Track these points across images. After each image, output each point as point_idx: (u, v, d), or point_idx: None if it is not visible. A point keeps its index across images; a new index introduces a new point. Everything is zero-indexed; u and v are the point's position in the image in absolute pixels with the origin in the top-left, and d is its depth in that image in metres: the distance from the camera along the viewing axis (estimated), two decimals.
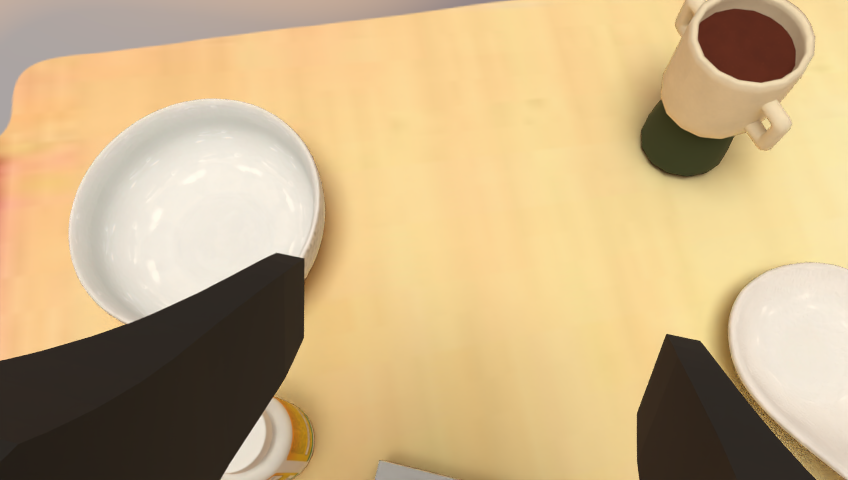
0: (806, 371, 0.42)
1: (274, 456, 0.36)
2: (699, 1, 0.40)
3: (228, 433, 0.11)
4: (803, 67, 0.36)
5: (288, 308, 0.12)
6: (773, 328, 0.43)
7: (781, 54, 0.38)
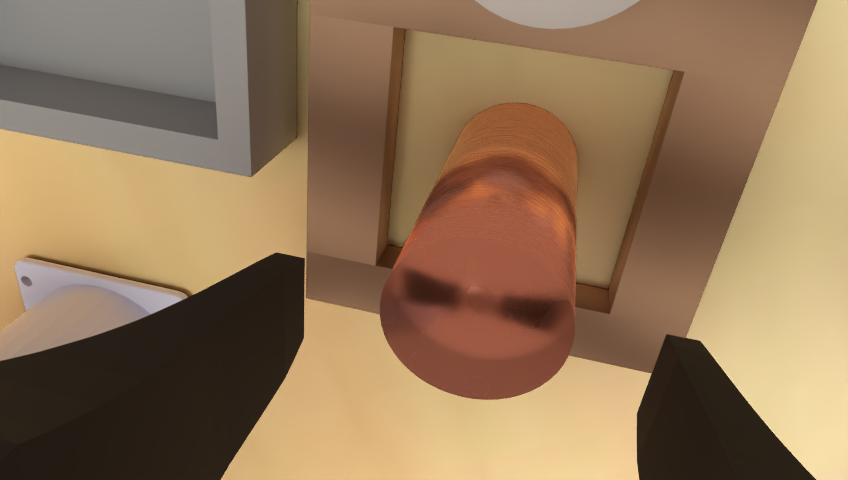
0: None
1: None
2: None
3: (228, 433, 0.11)
4: None
5: (288, 308, 0.12)
6: None
7: None
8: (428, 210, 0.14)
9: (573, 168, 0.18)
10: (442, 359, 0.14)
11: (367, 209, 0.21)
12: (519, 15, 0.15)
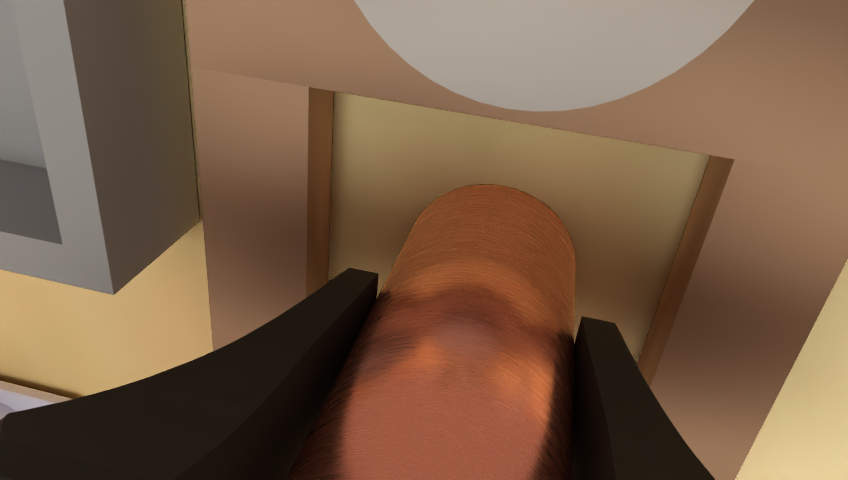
0: None
1: None
2: None
3: None
4: None
5: None
6: None
7: None
8: (331, 409, 0.09)
9: (569, 289, 0.13)
10: None
11: None
12: (481, 89, 0.09)
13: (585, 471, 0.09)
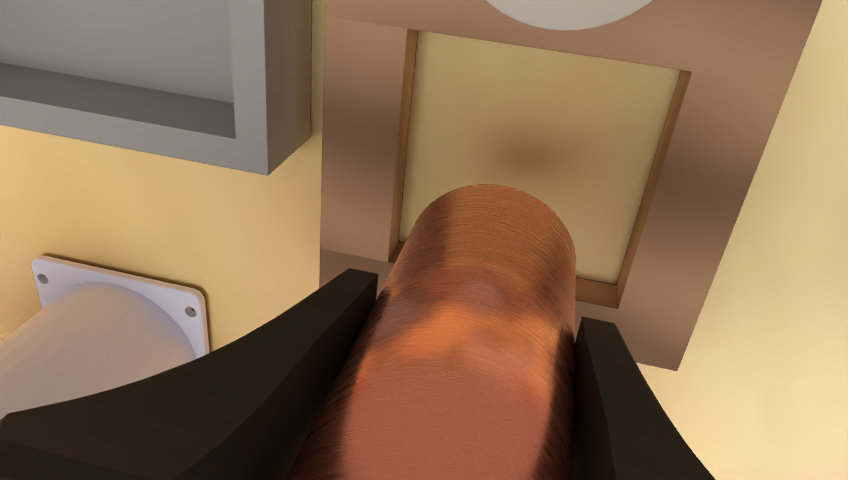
0: None
1: None
2: None
3: None
4: None
5: None
6: None
7: None
8: (332, 409, 0.09)
9: (569, 290, 0.13)
10: None
11: (380, 207, 0.21)
12: (532, 17, 0.15)
13: (585, 471, 0.09)
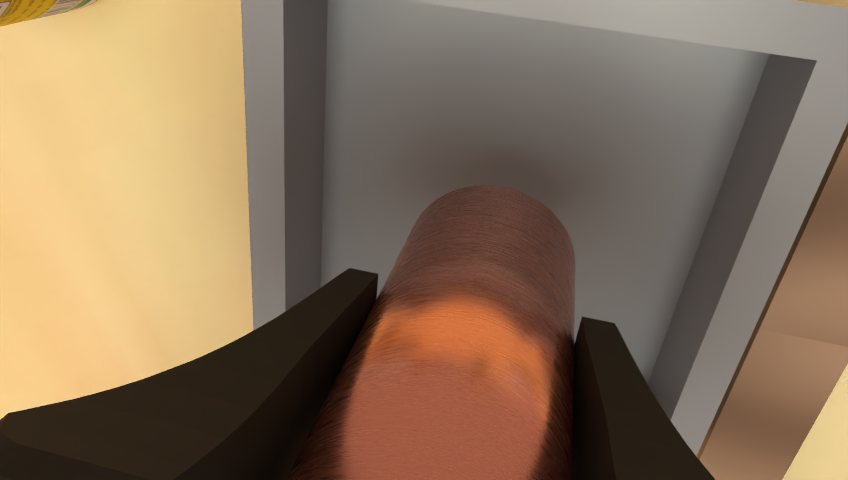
0: None
1: None
2: None
3: None
4: None
5: None
6: None
7: None
8: (327, 412, 0.09)
9: (568, 287, 0.13)
10: None
11: None
12: None
13: (585, 471, 0.09)
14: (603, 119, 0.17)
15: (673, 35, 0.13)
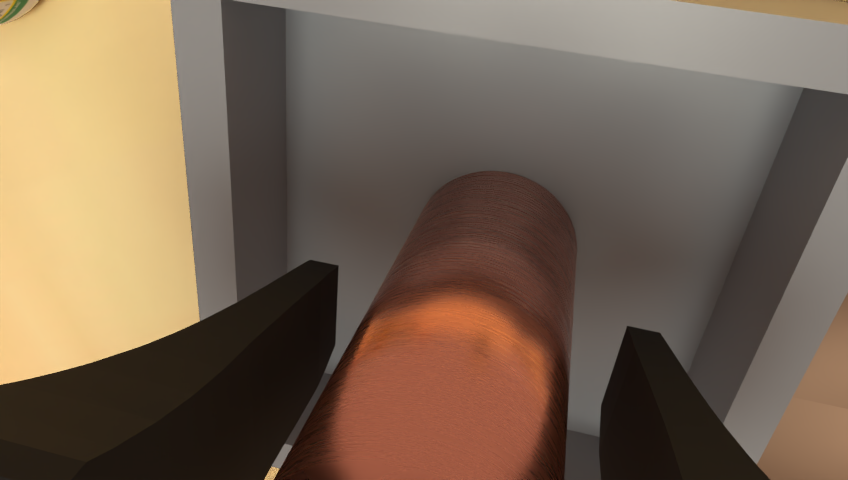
0: None
1: None
2: None
3: (267, 443, 0.11)
4: None
5: (323, 316, 0.12)
6: None
7: None
8: (341, 370, 0.10)
9: (568, 266, 0.13)
10: None
11: None
12: None
13: None
14: (607, 155, 0.14)
15: (695, 66, 0.10)
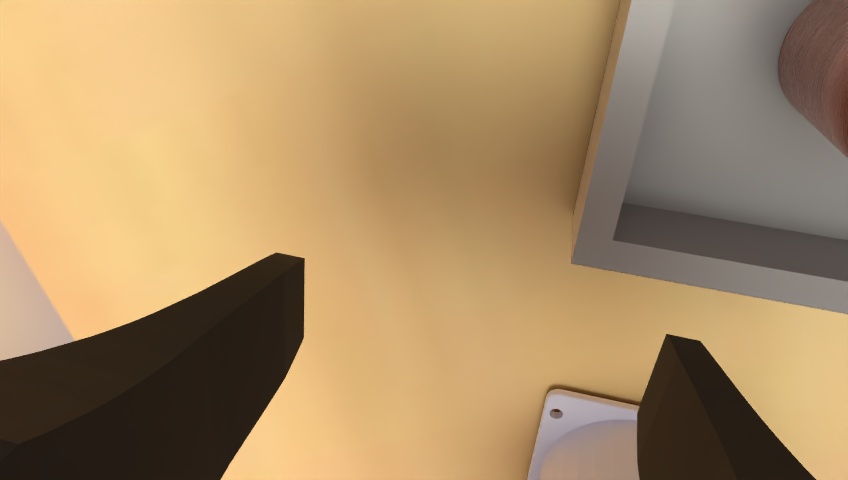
0: None
1: None
2: None
3: (228, 433, 0.11)
4: None
5: (288, 308, 0.12)
6: None
7: None
8: None
9: None
10: None
11: None
12: None
13: None
14: None
15: None
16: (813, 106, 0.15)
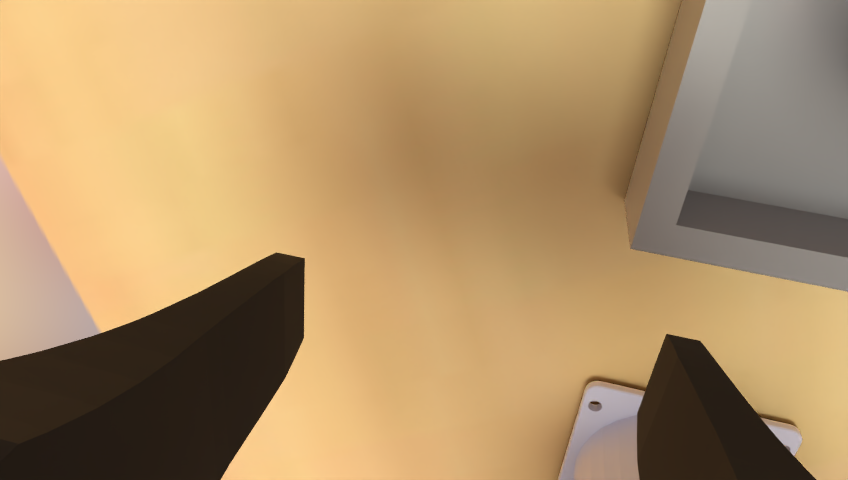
0: None
1: None
2: None
3: (228, 433, 0.11)
4: None
5: (288, 308, 0.12)
6: None
7: None
8: None
9: None
10: None
11: None
12: None
13: None
14: None
15: None
16: None
